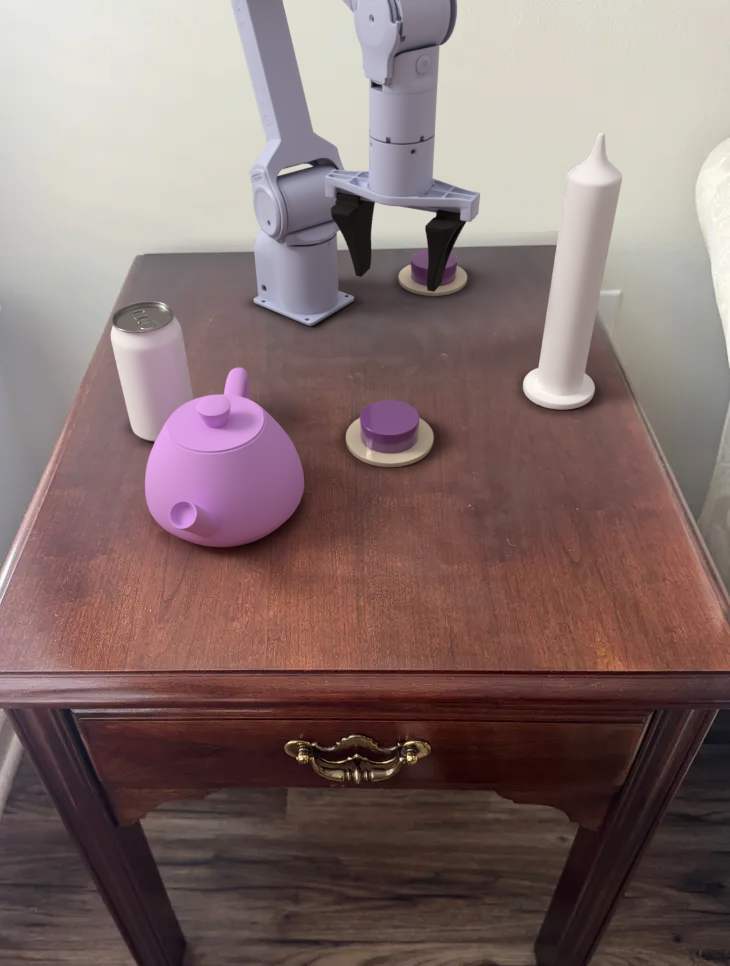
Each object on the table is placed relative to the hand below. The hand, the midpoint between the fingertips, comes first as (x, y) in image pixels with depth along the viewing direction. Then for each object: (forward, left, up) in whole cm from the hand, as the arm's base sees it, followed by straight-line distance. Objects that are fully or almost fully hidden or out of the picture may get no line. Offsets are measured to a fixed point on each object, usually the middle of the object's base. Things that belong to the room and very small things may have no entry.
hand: (398, 279), depth 84 cm
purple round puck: (-9, +19, -10) cm, 23 cm away
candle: (+15, +7, -10) cm, 20 cm away
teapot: (+2, -27, -11) cm, 29 cm away
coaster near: (+7, -10, -10) cm, 16 cm away
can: (-12, -22, -11) cm, 27 cm away
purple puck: (+7, -10, -10) cm, 16 cm away
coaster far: (-9, +19, -10) cm, 23 cm away
